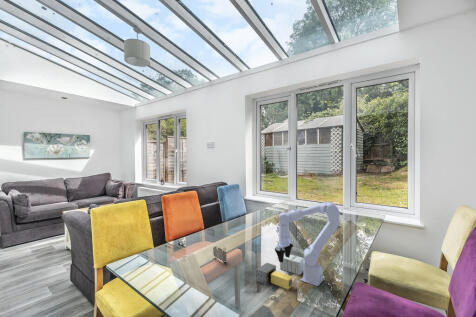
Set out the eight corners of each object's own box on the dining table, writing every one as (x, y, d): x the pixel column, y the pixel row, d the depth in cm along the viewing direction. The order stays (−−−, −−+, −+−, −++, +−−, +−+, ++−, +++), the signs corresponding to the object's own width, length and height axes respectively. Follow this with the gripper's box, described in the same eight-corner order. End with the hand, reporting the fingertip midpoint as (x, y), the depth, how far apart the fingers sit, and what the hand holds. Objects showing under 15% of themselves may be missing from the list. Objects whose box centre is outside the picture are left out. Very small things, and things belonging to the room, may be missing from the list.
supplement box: (285, 252, 139) (304, 257, 131) (285, 264, 139) (305, 270, 131) (279, 256, 133) (300, 262, 125) (279, 269, 133) (300, 275, 125)
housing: (276, 277, 124) (275, 265, 124) (266, 285, 116) (266, 272, 116) (266, 273, 128) (266, 262, 128) (256, 281, 120) (256, 269, 120)
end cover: (293, 285, 114) (293, 276, 114) (289, 289, 111) (288, 280, 111) (275, 279, 121) (275, 270, 121) (271, 282, 118) (270, 274, 118)
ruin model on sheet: (227, 263, 143) (226, 248, 143) (223, 264, 141) (222, 249, 141) (217, 257, 152) (216, 243, 152) (213, 258, 150) (213, 244, 150)
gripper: (283, 230, 132) (284, 253, 132) (271, 236, 121) (271, 262, 121) (294, 232, 127) (295, 256, 127) (282, 239, 116) (282, 265, 116)
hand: (284, 259), depth 124 cm, fingers open, 7 cm apart
